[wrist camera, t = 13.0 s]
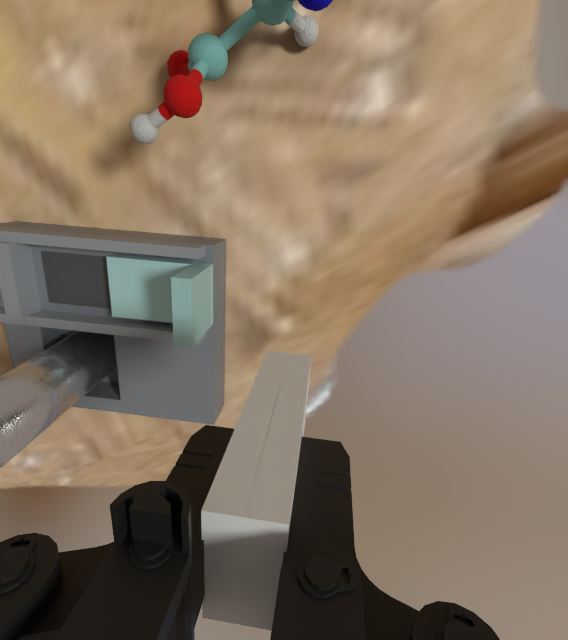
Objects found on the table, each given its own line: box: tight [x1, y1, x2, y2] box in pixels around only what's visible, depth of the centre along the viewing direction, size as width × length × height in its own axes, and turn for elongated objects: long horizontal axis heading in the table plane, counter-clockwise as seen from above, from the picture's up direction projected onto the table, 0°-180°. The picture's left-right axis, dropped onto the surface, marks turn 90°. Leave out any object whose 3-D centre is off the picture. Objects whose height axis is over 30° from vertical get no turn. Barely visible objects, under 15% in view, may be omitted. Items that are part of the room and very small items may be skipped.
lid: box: [106, 255, 213, 348], centre depth 20 cm, size 6×4×4 cm, turn 86°
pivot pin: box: [0, 331, 117, 468], centre depth 22 cm, size 4×4×10 cm
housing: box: [0, 221, 226, 425], centre depth 24 cm, size 14×12×4 cm
